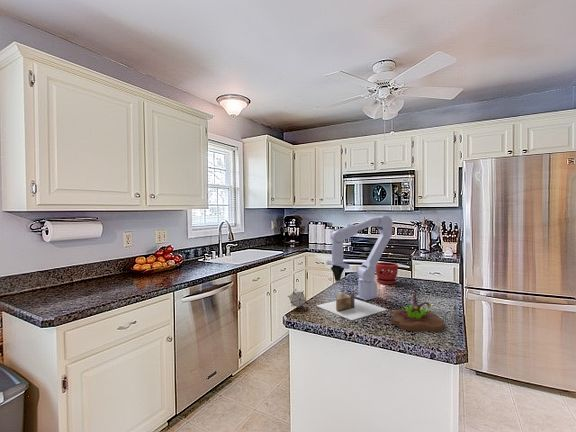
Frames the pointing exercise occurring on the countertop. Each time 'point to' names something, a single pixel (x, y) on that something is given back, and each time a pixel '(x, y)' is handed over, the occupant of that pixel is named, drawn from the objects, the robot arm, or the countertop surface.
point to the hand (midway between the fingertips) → (337, 280)
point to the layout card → (353, 309)
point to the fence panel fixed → (341, 295)
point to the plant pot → (386, 272)
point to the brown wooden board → (343, 303)
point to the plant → (417, 318)
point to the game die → (297, 298)
